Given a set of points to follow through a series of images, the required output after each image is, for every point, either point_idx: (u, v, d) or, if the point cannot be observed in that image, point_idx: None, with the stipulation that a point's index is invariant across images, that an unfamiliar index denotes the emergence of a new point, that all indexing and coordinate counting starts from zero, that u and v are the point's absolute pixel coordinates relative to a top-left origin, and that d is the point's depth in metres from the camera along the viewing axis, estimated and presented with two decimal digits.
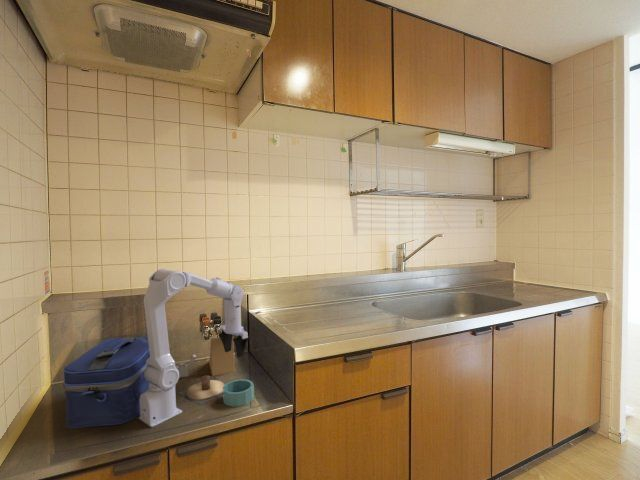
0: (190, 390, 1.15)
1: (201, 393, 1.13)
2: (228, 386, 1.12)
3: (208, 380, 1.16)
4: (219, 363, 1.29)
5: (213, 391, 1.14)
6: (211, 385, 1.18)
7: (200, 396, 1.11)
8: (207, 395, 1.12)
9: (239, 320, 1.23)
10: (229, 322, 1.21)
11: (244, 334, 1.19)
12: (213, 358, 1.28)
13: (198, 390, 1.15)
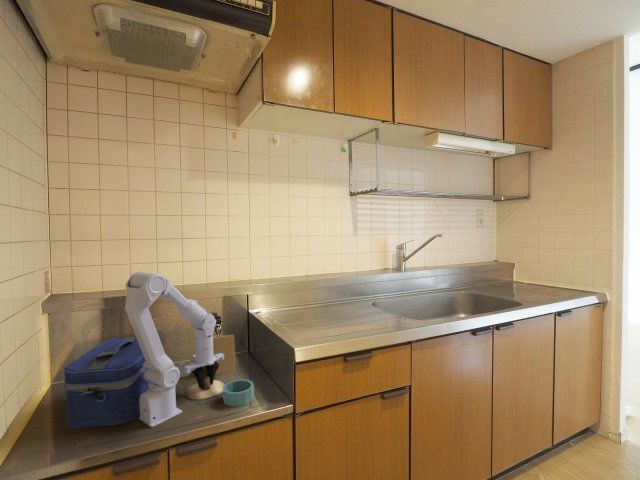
0: (190, 390, 1.15)
1: (201, 393, 1.13)
2: (228, 386, 1.12)
3: (208, 380, 1.16)
4: (219, 363, 1.29)
5: (213, 391, 1.14)
6: (211, 385, 1.18)
7: (200, 396, 1.11)
8: (207, 395, 1.12)
9: (199, 353, 1.13)
10: None
11: (185, 368, 1.10)
12: None
13: (198, 390, 1.15)
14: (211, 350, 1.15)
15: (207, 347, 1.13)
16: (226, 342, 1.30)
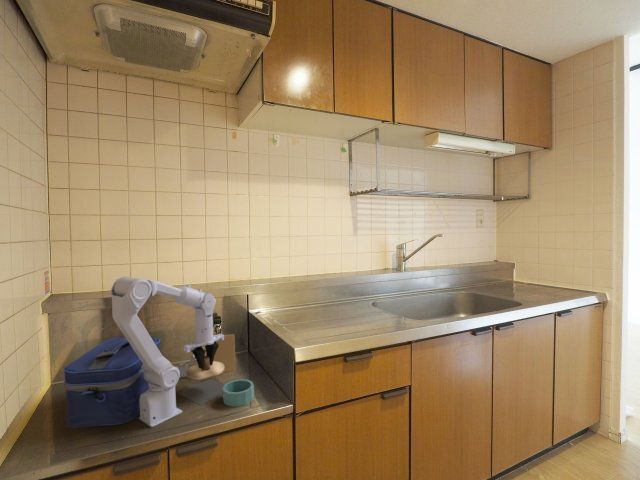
0: (190, 370, 1.15)
1: (200, 373, 1.13)
2: (228, 386, 1.12)
3: (208, 360, 1.15)
4: None
5: (213, 371, 1.14)
6: (211, 366, 1.18)
7: (200, 376, 1.11)
8: (207, 375, 1.11)
9: (199, 332, 1.13)
10: None
11: (184, 347, 1.10)
12: (214, 357, 1.29)
13: (198, 370, 1.15)
14: (211, 330, 1.14)
15: (207, 327, 1.13)
16: (227, 342, 1.31)
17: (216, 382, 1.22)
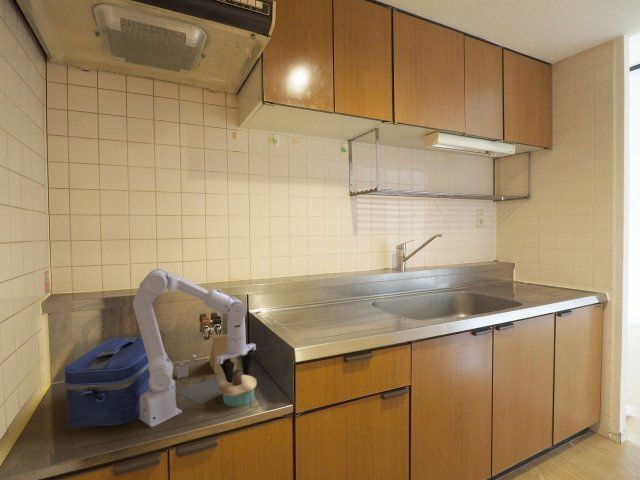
0: (221, 385, 1.10)
1: (233, 388, 1.08)
2: None
3: (240, 375, 1.10)
4: None
5: (245, 386, 1.09)
6: (242, 380, 1.13)
7: (233, 391, 1.05)
8: (240, 390, 1.06)
9: (232, 342, 1.07)
10: None
11: (217, 358, 1.04)
12: (216, 356, 1.29)
13: (229, 385, 1.09)
14: (244, 340, 1.09)
15: (234, 337, 1.07)
16: None
17: (216, 382, 1.22)
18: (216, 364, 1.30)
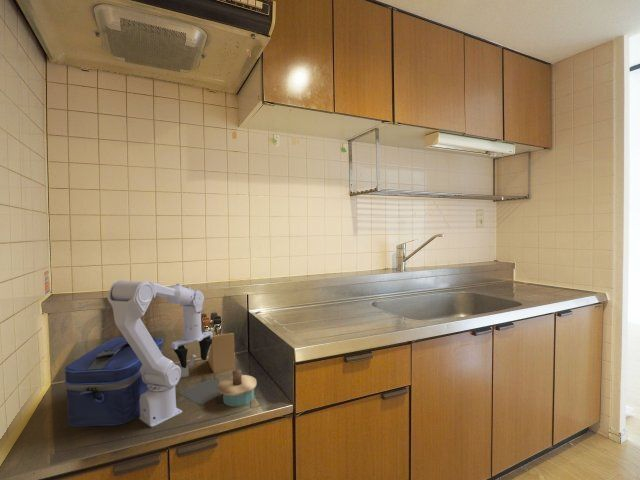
0: (221, 385, 1.10)
1: (233, 388, 1.08)
2: None
3: (240, 375, 1.10)
4: (220, 361, 1.31)
5: (245, 386, 1.09)
6: (242, 380, 1.13)
7: (233, 391, 1.05)
8: (240, 390, 1.06)
9: (187, 329, 1.13)
10: None
11: (172, 344, 1.10)
12: (214, 356, 1.30)
13: (229, 385, 1.09)
14: (199, 327, 1.15)
15: (197, 323, 1.14)
16: (226, 340, 1.32)
17: (216, 382, 1.22)
18: (215, 363, 1.30)
